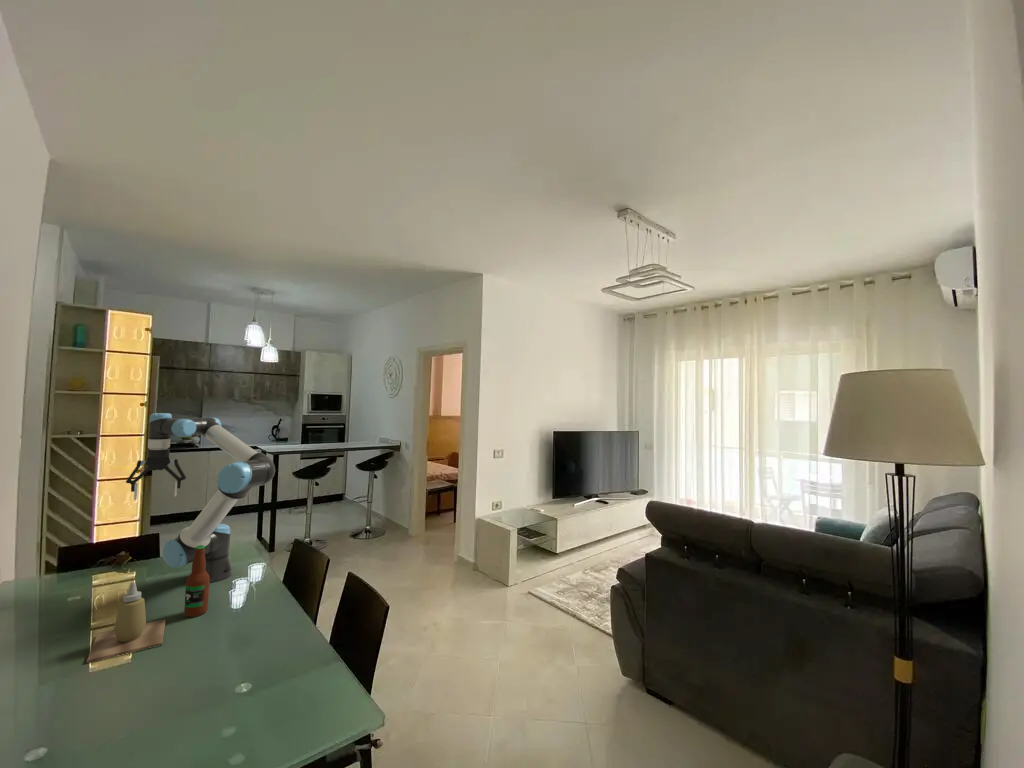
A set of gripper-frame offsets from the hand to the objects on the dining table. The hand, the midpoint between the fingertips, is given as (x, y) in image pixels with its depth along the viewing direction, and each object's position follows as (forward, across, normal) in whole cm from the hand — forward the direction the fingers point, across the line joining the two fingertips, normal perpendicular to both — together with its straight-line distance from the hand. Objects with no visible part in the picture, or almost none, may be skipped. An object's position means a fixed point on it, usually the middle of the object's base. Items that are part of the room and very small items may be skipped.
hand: (155, 497), depth 190 cm
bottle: (+37, -16, +41) cm, 57 cm away
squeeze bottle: (+36, +2, +52) cm, 63 cm away
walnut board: (+37, +2, +52) cm, 64 cm away
